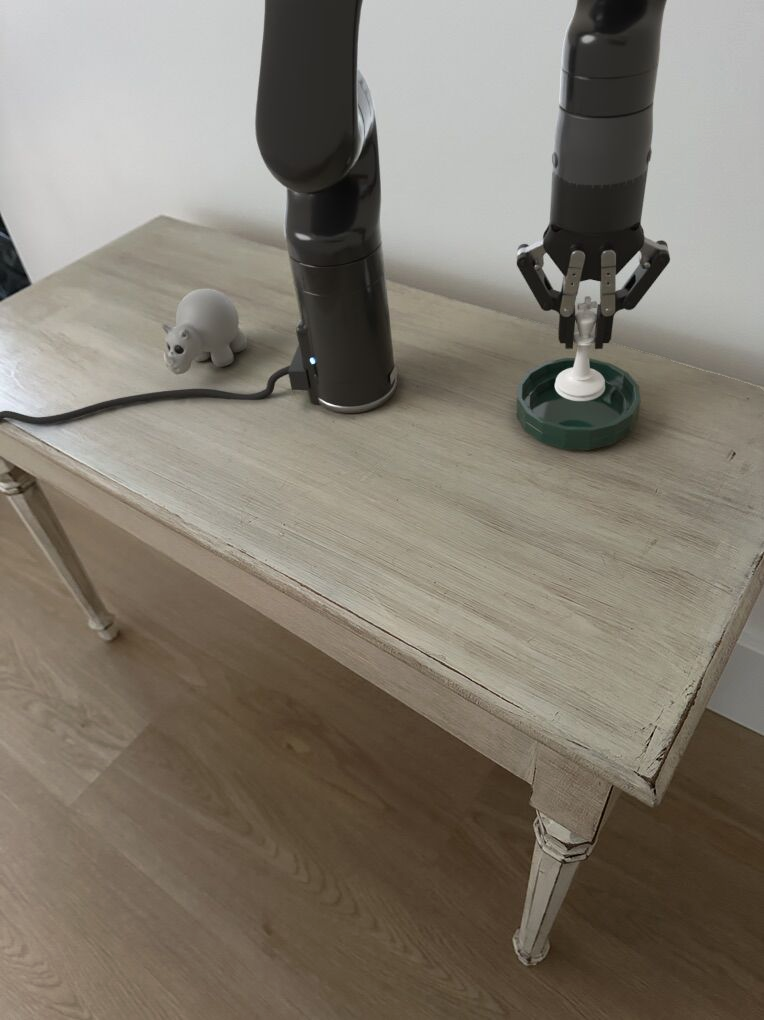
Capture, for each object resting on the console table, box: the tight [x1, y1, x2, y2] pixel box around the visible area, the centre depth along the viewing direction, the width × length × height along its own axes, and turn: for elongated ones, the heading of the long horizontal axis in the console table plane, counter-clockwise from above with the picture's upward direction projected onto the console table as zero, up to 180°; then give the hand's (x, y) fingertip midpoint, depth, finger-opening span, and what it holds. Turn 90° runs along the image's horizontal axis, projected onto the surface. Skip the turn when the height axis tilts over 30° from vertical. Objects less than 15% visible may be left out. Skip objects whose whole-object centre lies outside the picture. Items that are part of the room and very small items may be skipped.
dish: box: [516, 357, 642, 451], centre depth 81 cm, size 12×12×3 cm
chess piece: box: [555, 295, 605, 401], centre depth 76 cm, size 5×5×10 cm
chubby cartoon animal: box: [161, 288, 248, 375], centre depth 92 cm, size 7×12×8 cm, turn 153°
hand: (583, 343), depth 76 cm, fingers closed on chess piece
